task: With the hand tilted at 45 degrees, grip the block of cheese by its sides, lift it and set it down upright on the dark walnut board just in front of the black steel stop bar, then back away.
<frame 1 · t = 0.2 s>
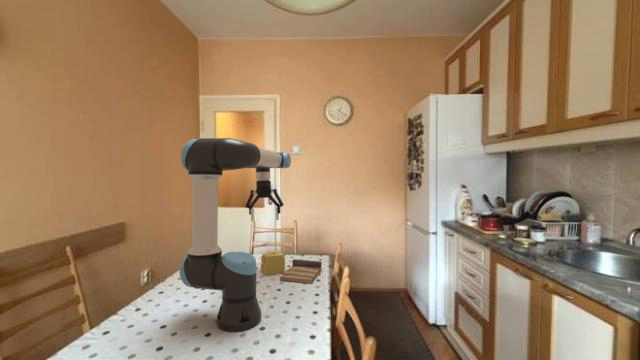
hand: (265, 220, 152), 28 cm above the table, tool pointing down, fingers open, 13 cm apart
cheese: (272, 271, 155), on the table
walnut board: (301, 275, 149), on the table
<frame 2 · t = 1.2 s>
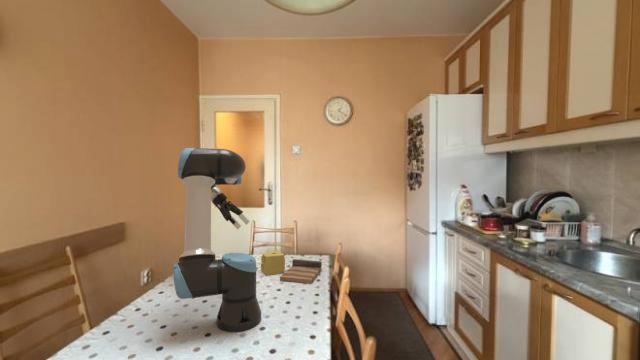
hand: (244, 225, 156), 25 cm above the table, tool tilted 45°, fingers open, 13 cm apart
nothing on the table moved.
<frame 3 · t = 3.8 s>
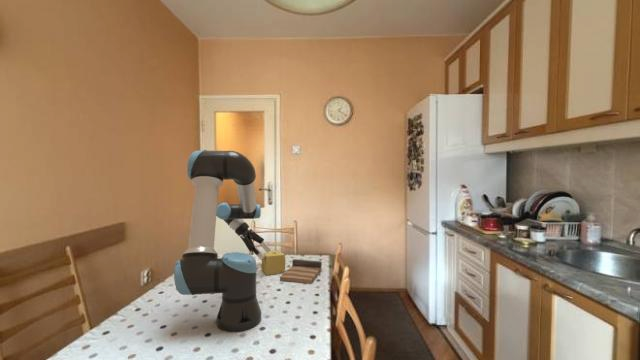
hand: (266, 254, 156), 9 cm above the table, tool tilted 45°, fingers open, 13 cm apart
cheese: (273, 271, 155), on the table, touching gripper
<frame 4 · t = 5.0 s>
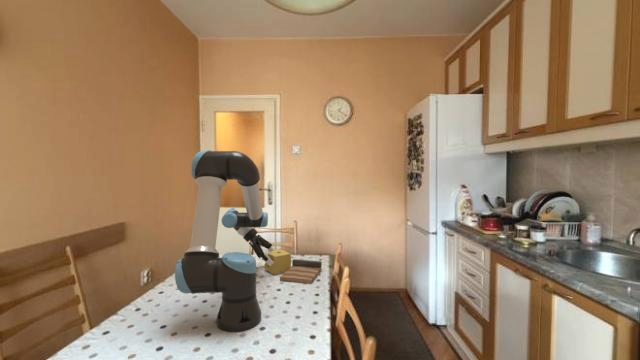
hand: (275, 260, 155), 6 cm above the table, tool tilted 45°, fingers closed on cheese, 13 cm apart
cheese: (277, 270, 156), on the table, touching gripper, walnut board
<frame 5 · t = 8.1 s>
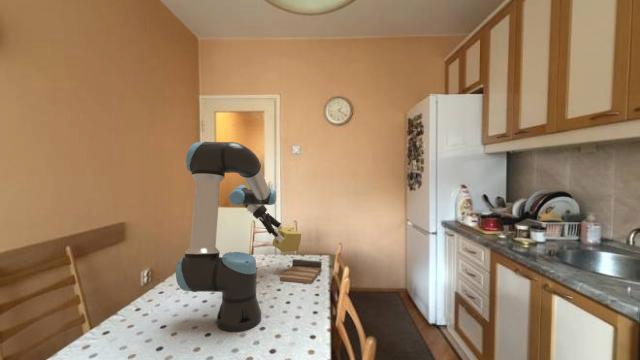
hand: (284, 238, 154), 18 cm above the table, tool tilted 45°, fingers closed on cheese, 13 cm apart
cheese: (285, 248, 155), point 12 cm above the table, touching gripper
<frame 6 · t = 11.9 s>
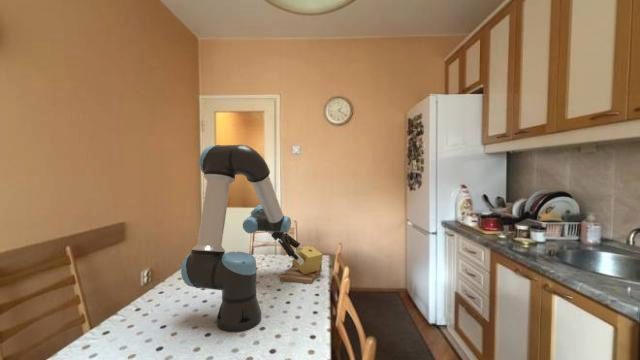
hand: (304, 259, 149), 8 cm above the table, tool tilted 45°, fingers closed on cheese, 13 cm apart
cheese: (305, 268, 150), point 3 cm above the table, touching gripper, walnut board
when the fingers open (8 cm above the table, at t = 12.1 s): cheese stays where it is, resting on walnut board.
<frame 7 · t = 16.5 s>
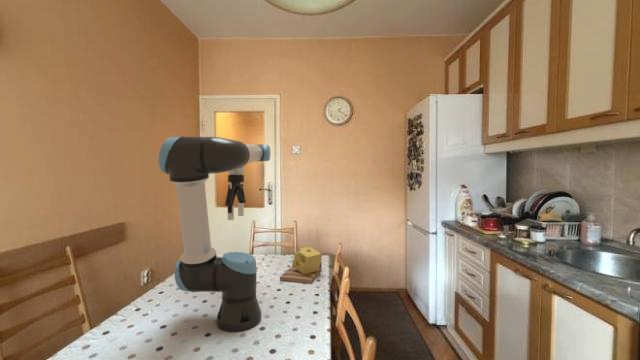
hand: (236, 217, 141), 31 cm above the table, tool pointing down, fingers open, 13 cm apart
cheese: (305, 269, 150), point 3 cm above the table, touching walnut board
at the end: cheese inside the target area on the walnut board (2.6 cm from its centre), point 2.9 cm above the walnut board's base; cheese tilted 14°; the gripper is holding nothing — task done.
